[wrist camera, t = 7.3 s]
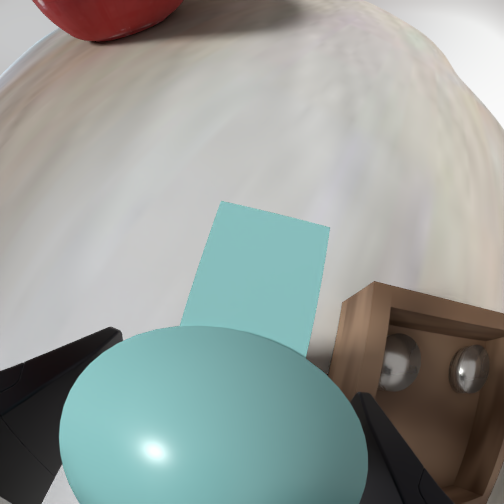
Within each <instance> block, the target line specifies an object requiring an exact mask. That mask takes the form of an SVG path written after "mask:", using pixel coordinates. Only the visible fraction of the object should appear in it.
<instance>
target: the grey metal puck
mask: <svg viewBox="0 0 504 504" xmlns="http://www.w3.org/2000/svg"><path fill="white" fill-rule="evenodd" d="M420 366H421V353H420V350H419V347H418V345H417V343H416V342H415V341H414V340H413V339H412V338H411V337H410V336H408V335H406V334H402V333H396V334H392V335H388V336H387V339H386V346H385V352H384V357H383V363H382V368H381V373H380V378H379V383H378V388H377V389H379V390H385V391H400V390H403V389H405V388H407V387H408V386H409V385H411V384H412V383H413V381H414V380H415V379H416V377H417V375H418V373H419V370H420Z"/></svg>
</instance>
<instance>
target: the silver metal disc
mask: <svg viewBox="0 0 504 504" xmlns="http://www.w3.org/2000/svg"><path fill="white" fill-rule="evenodd" d="M488 373H489V357H488V353H487V351H486V350H485V348H484V347H482V346H481V345H473V346H468V347H463V348H461V349H459V350H458V351H457V352H456V353H455V354H454V356H453V358H452V360H451V363H450V366H449V382H450V385H451V387H452V389H453V390H454V391H455V392H457V393H476V392H477V391H479V390H480V389H481V388H482V387H483V385H484V384H485V382H486V380H487V377H488Z"/></svg>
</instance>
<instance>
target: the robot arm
mask: <svg viewBox="0 0 504 504" xmlns="http://www.w3.org/2000/svg"><path fill="white" fill-rule="evenodd" d="M122 341H123V338H122V332H121V331H120V330H118V329H116V328H113V327H108V328H105V329H103V330H101V331H98V332H96V333H93V334H91V335H89V336H86V337H84V338H81V339H79V340H77V341H74V342H72V343H69V344H67V345H65V346H62V347H60V348H57V349H55V350H52V351H50V352H48V353H45V354H43V355H40V356H38V357H35V358H33V359H30V360H28V361H26V362H24V363H20V364H18V365H15V366H13V367H10V368H7V369H5V370H2V371H0V504H42V502H43V500H44V498H45V496H46V494H47V492H48V490H49V488H50V486H51V484H52V482H53V480H54V478H55V476H56V474H57V473H58V471H59V469H60V467H61V465H62V459H61V454H60V444H59V430H60V420H61V416H62V411H63V407H64V404H65V402H66V399H67V397H68V394H69V392H70V390H71V388H72V387H73V385H74V383H75V382H76V380H77V378H78V377H79V376H80V374H81V373H82V372H83V371H84V370H85V369H86V367H87V366H88V365H89V364H90V363H91V362H92V361H94V360H95V359H96V358H97V357H98V356H99V355H101V354H102V353H103V352H105V351H106V350H108V349H109V348H111V347H113V346H114V345H116V344H118V343H119V342H122ZM350 403H351V405H352V407H353V409H354V411H355V413H356V415H357V416H358V418H359V420H360V423H361V426H362V429H363V432H364V435H365V439H366V445H367V451H368V472H367V479H366V484H365V488H364V491H363V494H362V497H361V500H360V503H359V504H455V503H454V502H453V501H452V500H451V499H450V498H449V497H448V496H447V495H446V494H445V492H444V491H443V490H442V489H441V488H440V487H439V486H438V484H437V483H436V482H435V480H434V479H433V478H432V477H431V475H430V474H429V472H428V471H427V470H426V468H424V466H423V464H422V463H421V462H420V460H419V459H418V457H417V456H416V455H415V453H414V452H413V451H412V449H411V448H410V447H409V445H408V444H407V442H406V441H405V440H404V438H403V437H402V436H401V434H400V433H399V432H398V430H397V429H396V427H395V426H394V425H393V423H392V422H391V421H390V419H389V418H388V417H387V415H386V414H385V413H384V411H383V410H382V409H381V407H380V406H379V405H378V403H377V402H376V400H375V399H374V398H373V396H372V395H371V394H370V393H368V392H357V393H356V394H355V396H354V397H353V398H352V400H351V401H350Z"/></svg>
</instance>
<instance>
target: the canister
mask: <svg viewBox="0 0 504 504" xmlns="http://www.w3.org/2000/svg"><path fill="white" fill-rule="evenodd" d="M329 231H330V227H326V226H323V225H319V224H315V223H311V222H307V221H303V220H299V219H295V218H291V217H287V216H283V215H279V214H275V213H271V212H267V211H263V210H259V209H254V208H250V207H246V206H241V205H237V204H233V203H228V202H224V201H221V203H220V206H219V208H218V211H217V214H216V217H215V220H214V222H213V225H212V228H211V231H210V234H209V237H208V240H207V243H206V246H205V248H204V251H203V254H202V257H201V260H200V263H199V266H198V269H197V272H196V276H195V279H194V282H193V285H192V288H191V291H190V294H189V297H188V301H187V304H186V307H185V310H184V313H183V317H182V320H181V323H180V326H175V327H169V328H162V329H156V330H152V331H149V332H145V333H142V334H138V335H135V336H133V337H131V338H129V339H126V340H124V341H122V342H119V343H118V344H116V345H114V346H113V347H111V348H109V349H108V350H106V351H105V352H103V353H102V354H101V355H99V356H98V357H97V358H96V359H95V360H94V361H92V362H91V363H90V364H89V365H88V366H87V367H86V369H85V370H84V371H83V372H82V373H81V374H80V376H79V377H78V378H77V380H76V382H75V383H74V385H73V387H72V388H71V390H70V392H69V394H68V397H67V399H66V402H65V404H64V407H63V411H62V416H61V420H60V430H59V444H60V454H61V459H62V464H63V468H64V471H65V474H66V477H67V480H68V482H69V485H70V487H71V489H72V491H73V493H74V495H75V496H76V498H77V500H78V502H79V503H80V504H359V503H360V500H361V497H362V494H363V491H364V488H365V484H366V479H367V472H368V451H367V445H366V439H365V435H364V432H363V429H362V426H361V423H360V420H359V418H358V416H357V415H356V413H355V411H354V409H353V407H352V405H351V403H350V402H349V401H348V399H347V398H346V397H345V395H344V394H343V393H342V391H341V390H340V388H339V387H338V386H337V385H336V384H335V383H334V382H333V381H332V380H331V379H330V378H329V377H328V376H327V375H326V374H325V373H324V372H323V371H321V370H320V369H319V368H317V367H316V366H315V365H314V364H312V363H311V362H310V361H308V360H307V359H306V355H307V350H308V346H309V341H310V337H311V332H312V327H313V323H314V318H315V313H316V308H317V303H318V297H319V292H320V287H321V281H322V275H323V269H324V263H325V257H326V251H327V245H328V238H329Z"/></svg>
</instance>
